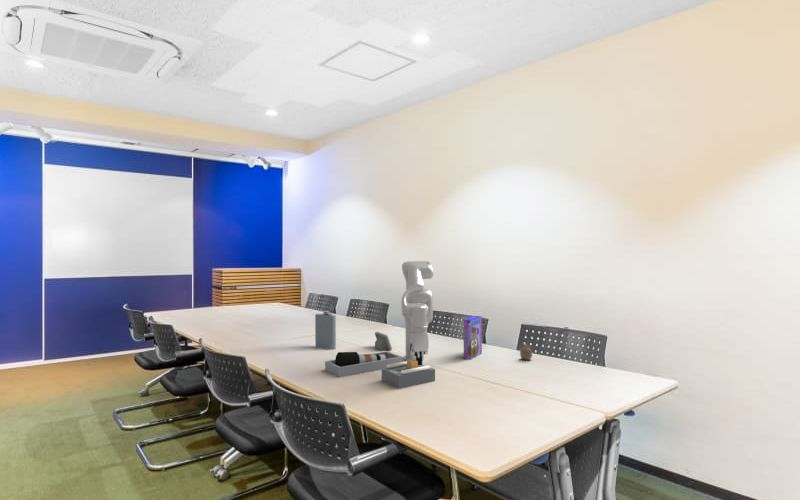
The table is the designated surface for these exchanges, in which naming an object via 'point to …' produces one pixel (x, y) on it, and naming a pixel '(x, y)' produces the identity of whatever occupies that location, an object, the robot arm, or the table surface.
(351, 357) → the cable
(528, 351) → the vase
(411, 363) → the block
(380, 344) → the grey rock
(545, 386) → the table surface
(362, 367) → the grey tray
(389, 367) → the cord
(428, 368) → the cord
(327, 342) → the flask
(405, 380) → the grey slider switch panel
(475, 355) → the cereal box
